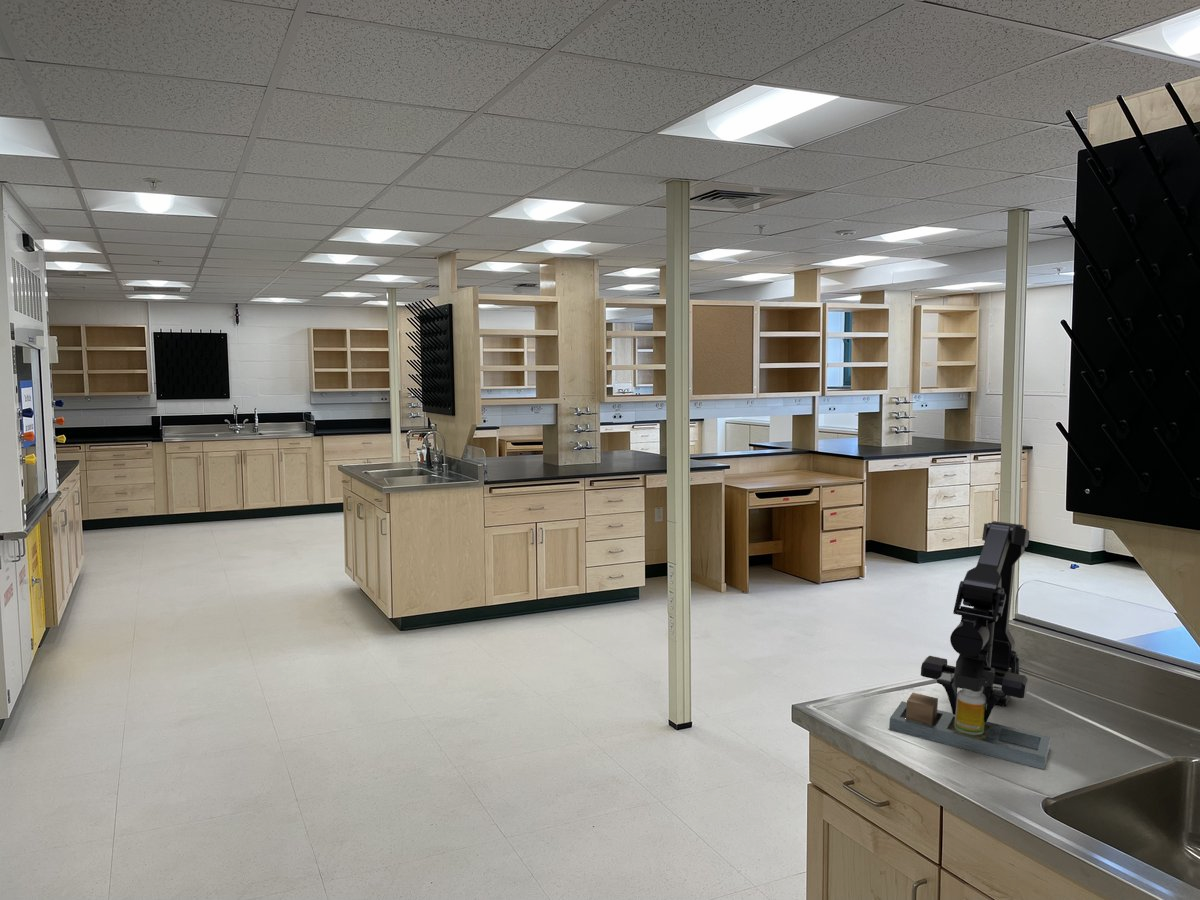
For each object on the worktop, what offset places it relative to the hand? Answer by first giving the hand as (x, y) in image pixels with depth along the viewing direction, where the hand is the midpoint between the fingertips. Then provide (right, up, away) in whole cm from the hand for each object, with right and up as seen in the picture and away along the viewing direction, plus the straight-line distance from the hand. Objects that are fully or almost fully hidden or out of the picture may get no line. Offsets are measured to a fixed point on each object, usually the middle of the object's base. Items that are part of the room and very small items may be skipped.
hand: (969, 717), depth 170 cm
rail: (0, -4, 0) cm, 4 cm away
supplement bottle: (0, -3, 0) cm, 3 cm away
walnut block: (-8, -4, +5) cm, 10 cm away
